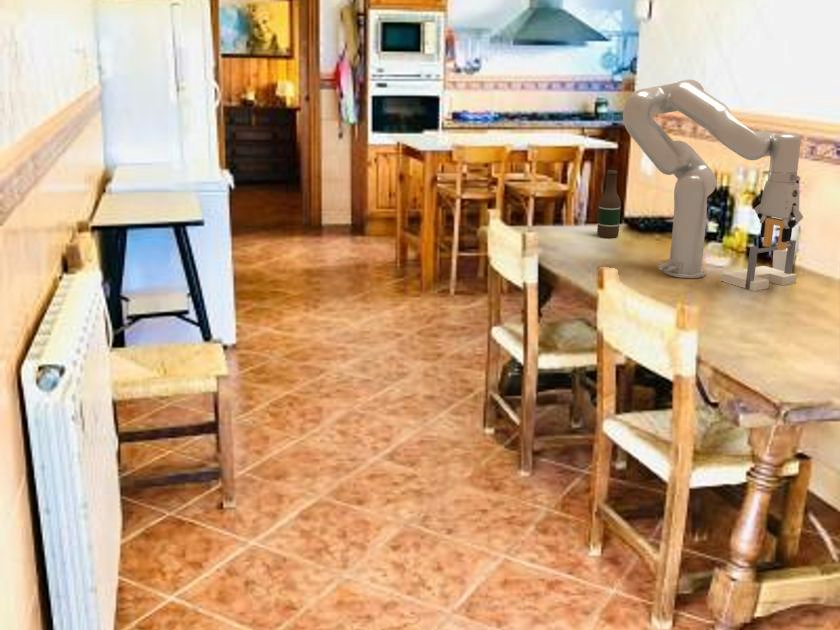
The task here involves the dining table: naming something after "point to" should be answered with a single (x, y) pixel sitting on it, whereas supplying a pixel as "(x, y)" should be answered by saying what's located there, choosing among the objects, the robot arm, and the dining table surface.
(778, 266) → the beige cube
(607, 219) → the beer bottle
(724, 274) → the hanging rack
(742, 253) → the dining table surface
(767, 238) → the orange u-shaped block
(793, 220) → the robot arm
